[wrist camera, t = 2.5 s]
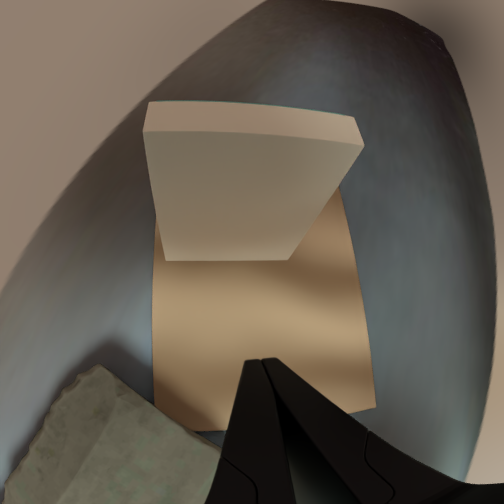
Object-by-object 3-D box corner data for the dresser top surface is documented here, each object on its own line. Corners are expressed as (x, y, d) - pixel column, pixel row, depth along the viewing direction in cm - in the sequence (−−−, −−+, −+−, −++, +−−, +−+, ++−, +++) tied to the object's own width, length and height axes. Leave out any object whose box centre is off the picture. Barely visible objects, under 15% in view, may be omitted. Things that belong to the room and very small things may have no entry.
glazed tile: (287, 260, 19) (364, 145, 10) (165, 260, 17) (142, 131, 8) (284, 234, 19) (351, 111, 10) (166, 233, 18) (150, 95, 9)
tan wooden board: (372, 407, 16) (376, 407, 16) (157, 429, 14) (156, 431, 14) (327, 153, 23) (329, 150, 23) (164, 145, 21) (163, 142, 21)
